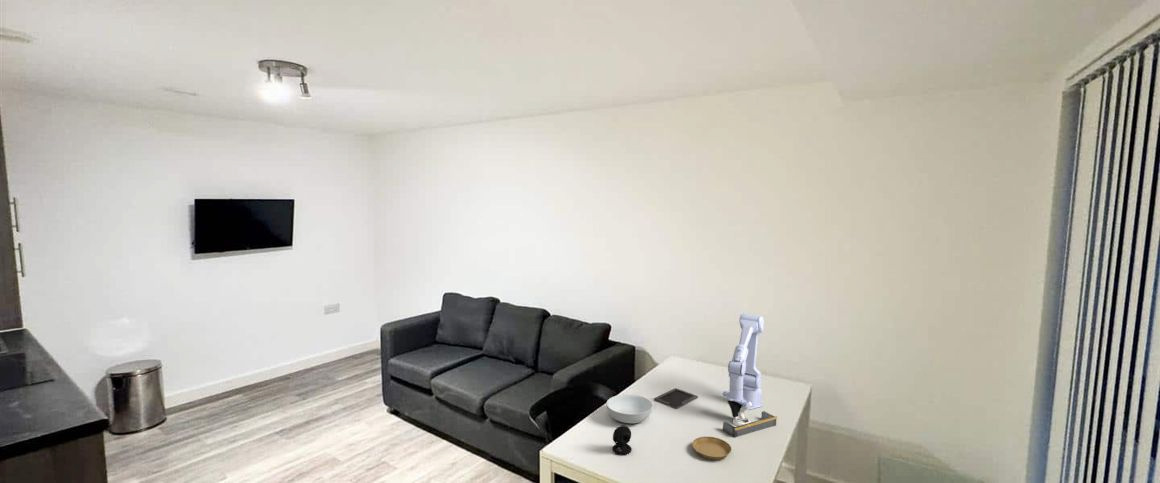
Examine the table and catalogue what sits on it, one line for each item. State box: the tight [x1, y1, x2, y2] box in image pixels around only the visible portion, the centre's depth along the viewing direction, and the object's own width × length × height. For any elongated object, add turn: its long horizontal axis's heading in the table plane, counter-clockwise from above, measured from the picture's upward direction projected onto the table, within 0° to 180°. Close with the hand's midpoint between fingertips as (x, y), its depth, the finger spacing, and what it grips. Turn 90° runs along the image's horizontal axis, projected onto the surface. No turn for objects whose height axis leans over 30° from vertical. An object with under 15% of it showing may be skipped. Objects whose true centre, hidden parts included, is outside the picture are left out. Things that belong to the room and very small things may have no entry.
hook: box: [732, 402, 752, 427], centre depth 202 cm, size 8×12×7 cm
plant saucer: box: [692, 436, 732, 461], centre depth 180 cm, size 15×15×3 cm
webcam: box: [611, 425, 633, 456], centre depth 181 cm, size 8×8×10 cm
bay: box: [722, 410, 778, 438], centre depth 199 cm, size 24×7×4 cm, turn 116°
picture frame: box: [653, 387, 699, 410], centre depth 228 cm, size 13×2×18 cm
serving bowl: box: [605, 394, 654, 424], centre depth 208 cm, size 21×21×7 cm
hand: (735, 416), depth 207 cm, fingers closed
